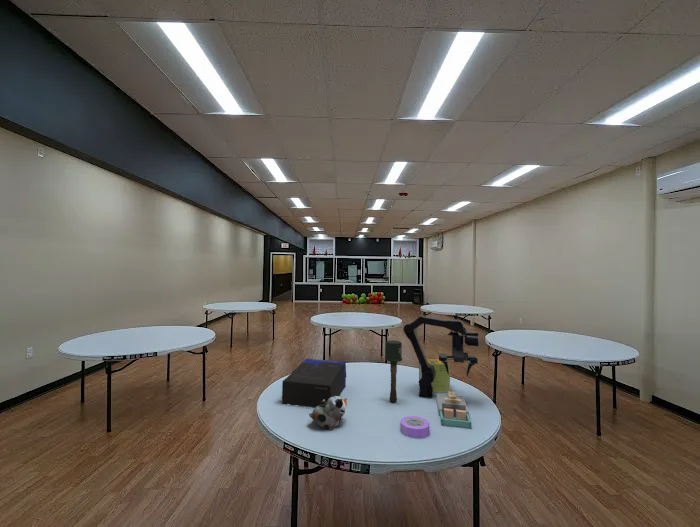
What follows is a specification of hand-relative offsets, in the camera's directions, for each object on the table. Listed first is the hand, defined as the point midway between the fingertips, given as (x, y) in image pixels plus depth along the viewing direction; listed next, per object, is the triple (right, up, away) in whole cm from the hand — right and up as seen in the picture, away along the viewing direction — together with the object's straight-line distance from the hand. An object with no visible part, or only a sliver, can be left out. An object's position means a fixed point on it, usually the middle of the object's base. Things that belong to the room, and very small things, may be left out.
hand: (457, 375), depth 161 cm
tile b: (-6, -10, -22) cm, 25 cm away
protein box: (-8, -14, +17) cm, 23 cm away
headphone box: (-73, -13, +6) cm, 74 cm away
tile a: (-11, -10, -21) cm, 26 cm away
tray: (-10, -12, -25) cm, 29 cm away
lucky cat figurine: (-65, -11, -27) cm, 71 cm away
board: (-6, -12, -10) cm, 17 cm away
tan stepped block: (-7, -9, -14) cm, 19 cm away
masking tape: (-29, -12, -33) cm, 45 cm away
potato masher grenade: (-34, -13, -3) cm, 36 cm away
